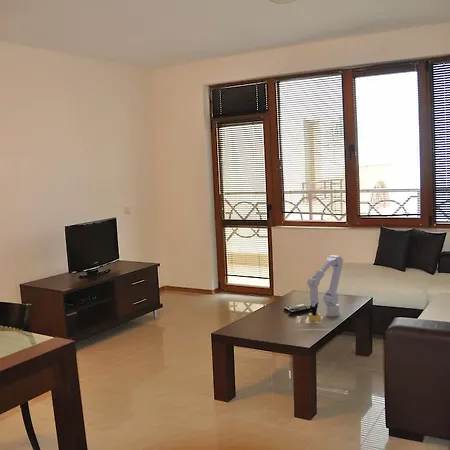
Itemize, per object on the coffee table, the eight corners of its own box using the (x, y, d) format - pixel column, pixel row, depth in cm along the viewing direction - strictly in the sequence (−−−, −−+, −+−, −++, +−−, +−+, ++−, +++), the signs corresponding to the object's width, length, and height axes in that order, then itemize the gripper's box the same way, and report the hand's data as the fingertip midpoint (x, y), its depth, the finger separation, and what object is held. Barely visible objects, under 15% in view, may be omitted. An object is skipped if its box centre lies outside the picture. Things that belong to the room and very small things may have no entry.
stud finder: (320, 318, 388) (320, 312, 387) (320, 320, 383) (320, 314, 383) (309, 318, 389) (309, 312, 389) (308, 320, 385) (308, 314, 385)
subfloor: (322, 317, 395) (322, 315, 394) (321, 325, 376) (321, 323, 376) (297, 317, 399) (297, 315, 398) (295, 324, 380) (295, 323, 380)
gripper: (308, 292, 392) (309, 311, 394) (307, 297, 378) (308, 316, 380) (318, 292, 391) (319, 311, 392) (317, 297, 377) (318, 316, 378)
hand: (314, 314), depth 386 cm, fingers open, 7 cm apart
